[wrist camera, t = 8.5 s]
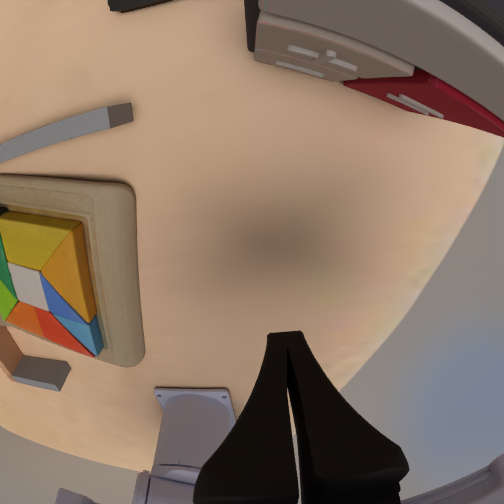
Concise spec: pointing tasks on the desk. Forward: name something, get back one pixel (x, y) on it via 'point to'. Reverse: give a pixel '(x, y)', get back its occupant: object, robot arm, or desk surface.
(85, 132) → the bay
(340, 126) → the desk surface
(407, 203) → the desk surface
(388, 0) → the grey and red box
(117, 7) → the dark sector wedge
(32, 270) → the wooden puzzle
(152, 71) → the desk surface
